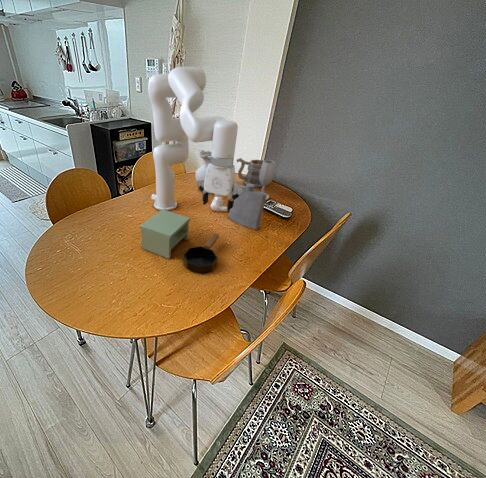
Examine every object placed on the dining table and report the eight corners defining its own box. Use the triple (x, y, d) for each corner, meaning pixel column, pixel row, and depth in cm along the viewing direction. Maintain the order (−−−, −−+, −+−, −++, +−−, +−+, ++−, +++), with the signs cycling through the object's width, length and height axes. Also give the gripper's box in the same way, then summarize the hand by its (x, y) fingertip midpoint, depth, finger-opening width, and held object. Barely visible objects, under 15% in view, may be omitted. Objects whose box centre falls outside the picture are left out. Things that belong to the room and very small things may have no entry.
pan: (178, 266, 98) (179, 256, 95) (202, 239, 113) (203, 229, 111) (207, 277, 93) (208, 267, 90) (228, 247, 108) (230, 238, 106)
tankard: (265, 181, 169) (271, 159, 160) (262, 188, 159) (268, 165, 151) (235, 176, 175) (239, 154, 167) (231, 183, 166) (234, 160, 157)
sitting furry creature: (229, 211, 134) (232, 190, 127) (215, 214, 131) (217, 193, 125) (220, 204, 141) (223, 183, 134) (206, 206, 139) (208, 185, 132)
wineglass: (271, 196, 150) (279, 160, 138) (266, 202, 144) (275, 165, 132) (256, 193, 154) (263, 158, 142) (251, 198, 148) (258, 162, 136)
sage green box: (141, 248, 107) (139, 225, 101) (162, 230, 118) (161, 209, 112) (170, 259, 101) (170, 236, 95) (189, 239, 113) (190, 217, 106)
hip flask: (259, 227, 122) (269, 188, 110) (255, 231, 119) (264, 191, 108) (231, 216, 131) (237, 178, 119) (227, 218, 128) (232, 180, 117)
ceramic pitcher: (212, 182, 169) (213, 142, 156) (236, 189, 157) (240, 147, 144) (189, 191, 157) (188, 149, 144) (213, 199, 145) (215, 154, 132)
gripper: (194, 159, 88) (192, 204, 97) (243, 168, 81) (235, 216, 90) (203, 154, 93) (200, 197, 103) (250, 162, 86) (242, 207, 96)
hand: (217, 206), depth 97 cm, fingers open, 9 cm apart
